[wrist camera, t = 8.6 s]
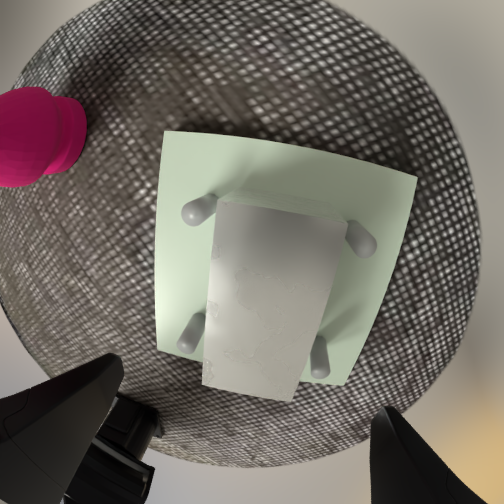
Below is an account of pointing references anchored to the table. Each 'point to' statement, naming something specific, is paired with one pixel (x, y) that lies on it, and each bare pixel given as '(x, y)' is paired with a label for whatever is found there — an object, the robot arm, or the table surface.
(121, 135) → the table surface
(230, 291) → the block
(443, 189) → the table surface
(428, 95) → the table surface
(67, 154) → the pepper mill
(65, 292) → the table surface
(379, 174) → the pale green peg board
